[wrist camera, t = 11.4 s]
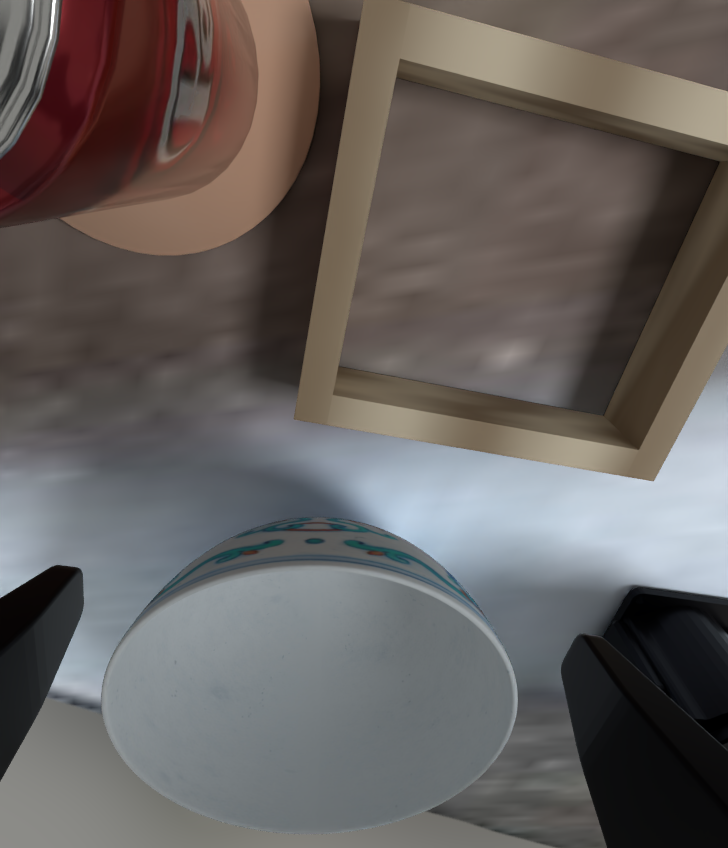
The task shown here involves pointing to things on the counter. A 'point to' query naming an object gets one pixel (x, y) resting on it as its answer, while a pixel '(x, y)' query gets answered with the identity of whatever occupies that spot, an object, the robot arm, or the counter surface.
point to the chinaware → (310, 682)
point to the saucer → (258, 158)
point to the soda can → (119, 102)
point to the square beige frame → (560, 99)
